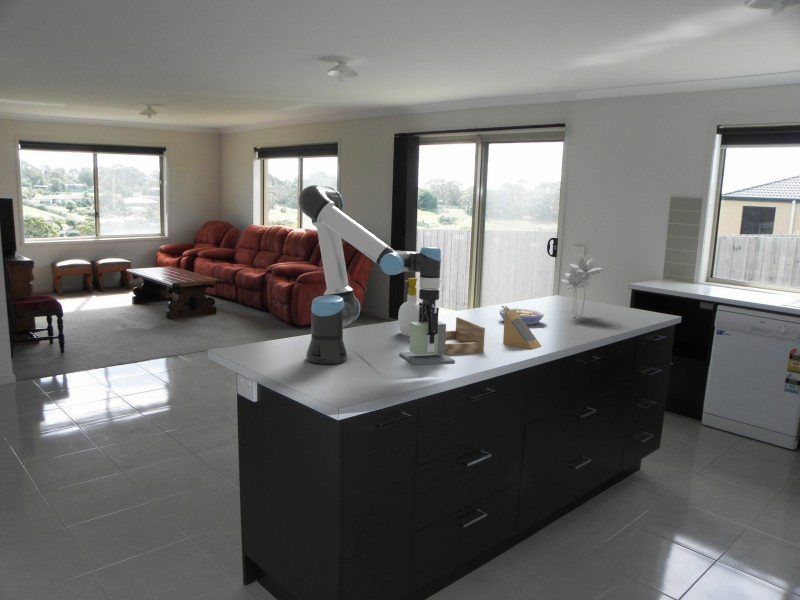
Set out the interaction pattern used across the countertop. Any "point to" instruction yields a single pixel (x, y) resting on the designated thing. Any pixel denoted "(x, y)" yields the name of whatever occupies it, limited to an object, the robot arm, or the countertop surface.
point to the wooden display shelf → (466, 338)
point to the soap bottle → (409, 309)
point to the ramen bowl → (525, 315)
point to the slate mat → (426, 358)
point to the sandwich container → (518, 332)
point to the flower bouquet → (580, 277)
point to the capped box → (420, 338)
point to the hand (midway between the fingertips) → (427, 349)
